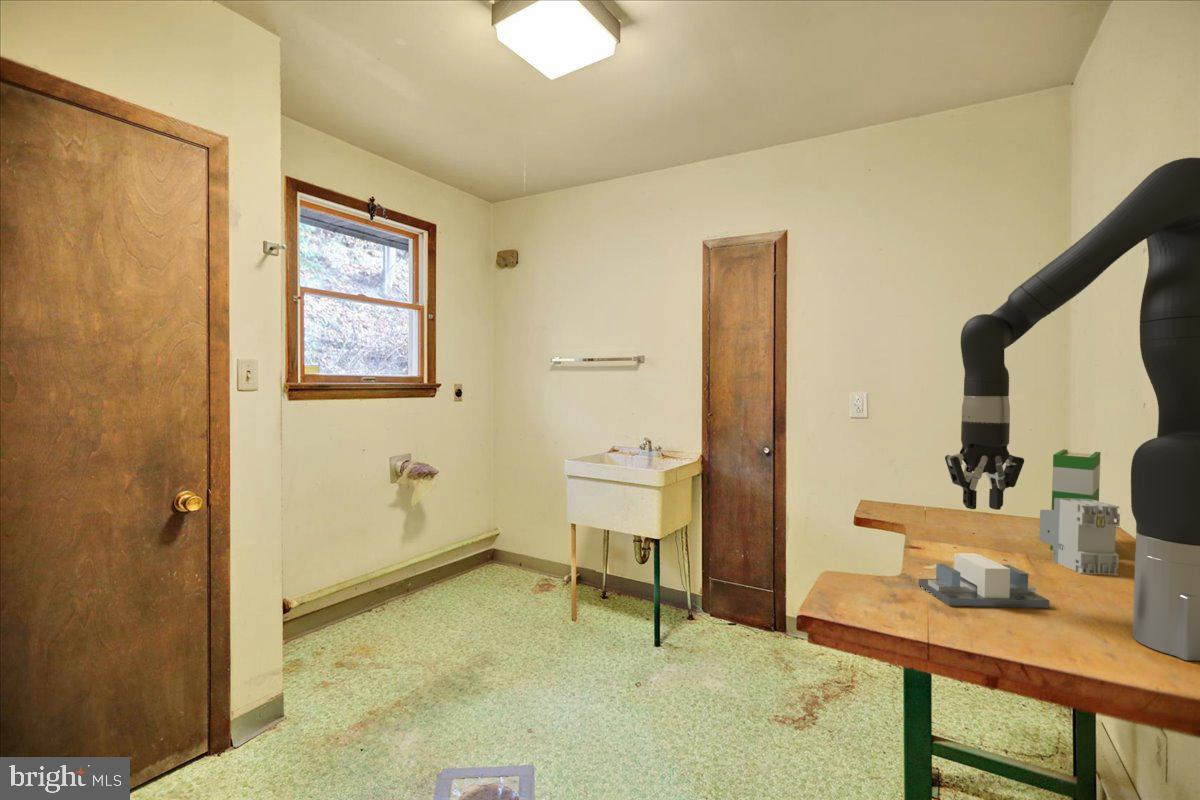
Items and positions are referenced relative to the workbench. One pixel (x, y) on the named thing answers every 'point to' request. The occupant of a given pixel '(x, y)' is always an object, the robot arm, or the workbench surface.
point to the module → (983, 574)
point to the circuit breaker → (1082, 534)
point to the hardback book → (1075, 476)
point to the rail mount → (966, 594)
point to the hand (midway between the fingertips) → (982, 508)
